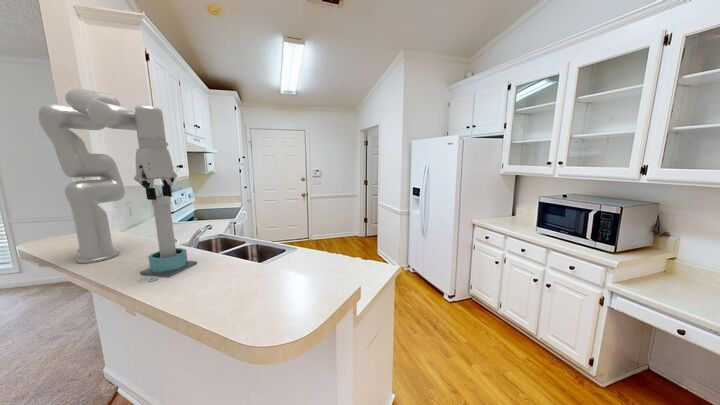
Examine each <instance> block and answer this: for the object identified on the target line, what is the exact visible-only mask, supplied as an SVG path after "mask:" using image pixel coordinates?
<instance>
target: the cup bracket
mask: <svg viewBox="0 0 720 405" xmlns="http://www.w3.org/2000/svg"><path fill="white" fill-rule="evenodd" d="M175 248H176V254H177V255H174V256H170V257H163V258H159V257H160V250H158V251H156V252H152V253H150V255H148V264H149V268H146V269H143V270H141V271H139V274H140V276H158V277H161V278H171V277H172V276H173V277H174V276H175V275H177V274H178V273H182V272H183V271H185V270H187V269H189V268H192V267H195V265H198V261H197V260H188V254H187V249H186V248H180V247H178V248H177V247H175Z"/></svg>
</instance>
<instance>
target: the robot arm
mask: <svg viewBox="0 0 720 405" xmlns="http://www.w3.org/2000/svg"><path fill="white" fill-rule="evenodd" d="M64 96H65V97H64V98H65V102H66V104H59V103H58V104H57V103H48V104H44V105H42V106H41V107H40V108H39V110H38V114H37V115H38V122H39V125H40V127H41V129H42V130H43V132H44V133H45V135H46V136H47V137H48V139H49V140H50V141H51V143H52V145H53V147H54V148H53V149H54V151H55V152H56V157H57V158H58V162H59V165H60V167H61V169H62V172H63V173H64V174H65V176H66V177H69V178H72V179H74V178H75V179H83V178H84V179H85V178H100V179H89V180H87V179H86V180H77V181H74V182H73V181H71V182H70V183H68V184H67V185H66V186H65V187H64V195H65V197H66V200H67V202H68V204H69V206H70V208H71V210H70V211H71V213H72V218H73V222H74V226H75V231H76V232H75V233H76V236H77V243H78V246H79V249H77V250H76V252H77V253H79V254H80V256H78V257H76V258H75V262H76V263H78V264H89V263H97V262H100V261H105V260H109V259H112V258H114V257H116V256H118V255H119V253H120V252H119V250H117V249H114V247H113V241H112V235H111V230H110V224H109V217H108V214H107V212H106V211H105V210H104V208H102V207H101V206H100V204H104V203H105V204H106V203H110V202H111V203H112V202H118V201H120V200H122V199H123V198H124V197H125V193H126V192H125V187H124V183H123V181H122V178H121V175H120V174H121V173H120V171H119V168H118V166H117V164H116V160H114V158H113V157H111V156H110V155H108V154H106V153H90V152H89V151H88V149H87V147H86V146H87V145H86V143H85V141H84V140H83V139H82V138H81V137H80V136H79V135H77V134H76V133H75V132H74V131H72V130H73V129H74V130H88V131H100V130H104V129H105V128H108V129H112V130H126V131H136V136H137V144H138V148H137V149H136V151H135V173H136V174H135V175H134V177H133V180H134V181H135V182H137V183H139V185H141V186H142V187H143V188H144V189H145V194H146V199H147V200H148V201H149V200H150V201H152V200H156V197H157V192H156V187H154V184H155V180H159V179H160V180H161V181H160V182H161V183H162V185H161V193H162V196H170V198H172V197H173V194H172V186H173V183H174V182H175V179H176V178H178V174H177V173H176V172H175V171H174V167H173V166H174V165H173V161H172V158H171V157H172V156H171V153H170V150H169V149H168V145H169V143H168V142H167V138H166V130H165V122H164V121H165V120H164V116H163V111H162V109H160V108H159V107H156V106H153V105H152V106H150V105H137V106H135V107H130V106H125V105H121V103H120V102H119V99H118V98H117V97H115V96H114V95H112V94H111V93H106V92H101V91H96V90H95V91H94V90H90V89H85V88H74V89H70V90H68V91H67V93H66V94H65V95H64ZM70 129H72V130H70Z"/></svg>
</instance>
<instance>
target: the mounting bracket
mask: <svg viewBox="0 0 720 405" xmlns="http://www.w3.org/2000/svg"><path fill="white" fill-rule="evenodd" d="M160 278H162V277H158V276H149V275H146V276H144V277H142V278H140V279H139V278H138V279H137V280H135V282H136V283H139V284H143V283H146V282H147V283H154V282H156V281H158V279H160Z"/></svg>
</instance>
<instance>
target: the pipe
mask: <svg viewBox="0 0 720 405" xmlns="http://www.w3.org/2000/svg"><path fill="white" fill-rule="evenodd" d="M153 186H155V189H157V191H158V193H159V195H158V196H157V195H156V200H151V206H152V207H153V212H154V219H155V220H154V221H155V226H156V234H157V241H158V247H159V248H158V249H159V250H158V251H160V257H159V258H163V257H170V256H174V255H177V254H176V248H177V247H176V242H175V240H176V239H175V233H174V227H173V226H174V225H173V218H172V210H171V204H172V201H171V197H170V196H163V195H161V192H160V190H159V188H158V186H157V185H156V184H155V183H154V184H153Z"/></svg>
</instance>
